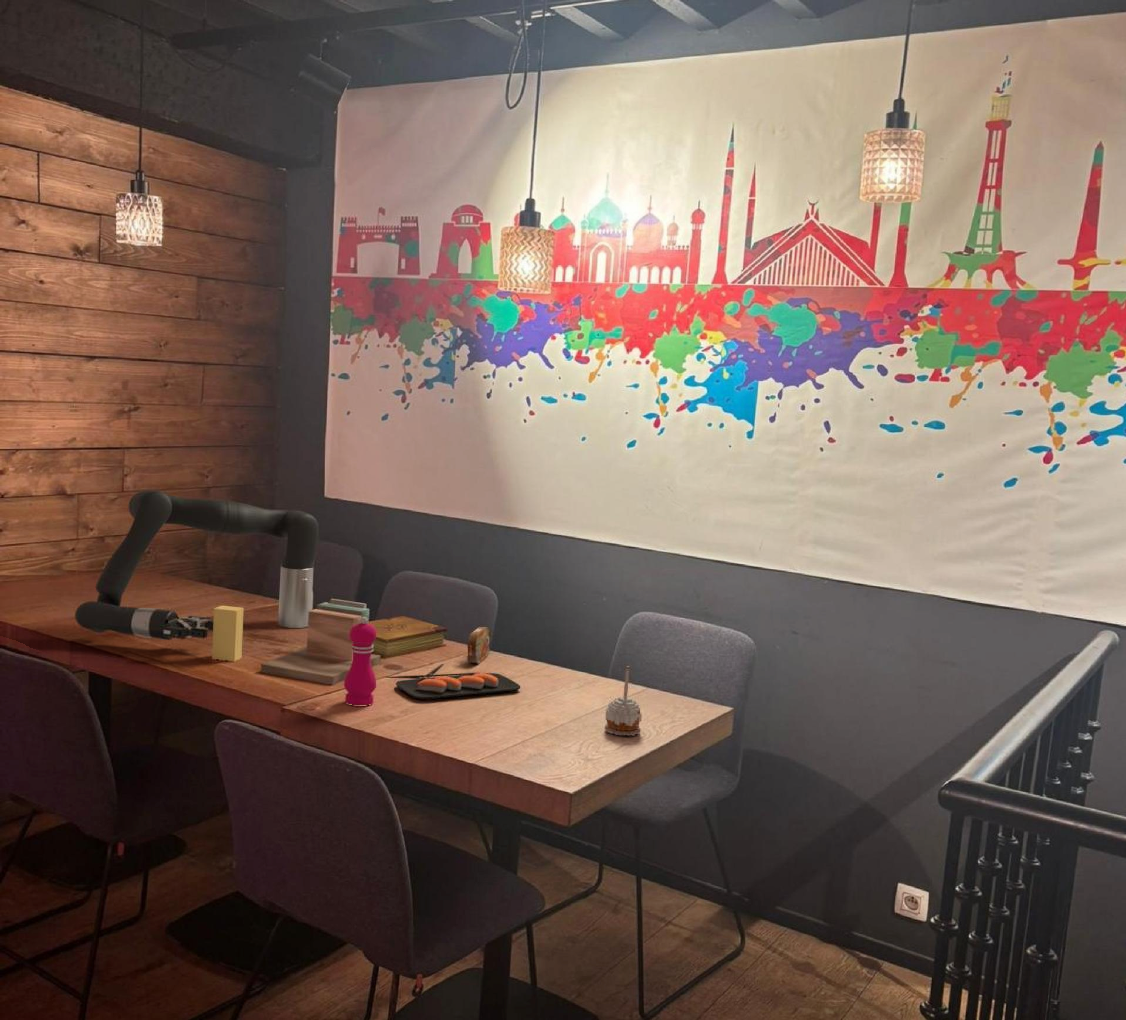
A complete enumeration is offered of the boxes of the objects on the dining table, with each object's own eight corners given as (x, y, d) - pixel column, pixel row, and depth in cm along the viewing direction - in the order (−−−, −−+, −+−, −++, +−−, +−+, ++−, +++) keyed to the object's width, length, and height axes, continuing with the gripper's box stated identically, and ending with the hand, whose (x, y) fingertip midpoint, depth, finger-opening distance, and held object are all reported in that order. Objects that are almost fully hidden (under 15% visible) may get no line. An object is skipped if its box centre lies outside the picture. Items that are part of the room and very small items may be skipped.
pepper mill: (347, 696, 251) (351, 612, 248) (378, 699, 250) (383, 614, 248) (339, 705, 243) (344, 618, 241) (371, 708, 243) (376, 621, 241)
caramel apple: (646, 735, 240) (652, 669, 238) (619, 739, 235) (625, 672, 233) (625, 724, 246) (630, 660, 244) (597, 729, 241) (603, 663, 240)
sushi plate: (415, 705, 250) (416, 689, 249) (366, 671, 275) (367, 657, 274) (524, 695, 265) (526, 680, 265) (469, 663, 290) (469, 649, 290)
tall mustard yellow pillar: (219, 655, 277) (221, 605, 276) (241, 657, 277) (243, 607, 275) (212, 658, 273) (214, 608, 272) (234, 661, 273) (236, 610, 271)
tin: (475, 667, 285) (477, 635, 284) (464, 665, 286) (466, 634, 285) (490, 654, 300) (493, 624, 299) (479, 652, 300) (482, 623, 299)
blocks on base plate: (312, 651, 288) (315, 596, 286) (380, 662, 282) (383, 606, 280) (260, 672, 265) (263, 612, 263) (332, 684, 259) (336, 623, 257)
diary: (399, 634, 316) (401, 615, 316) (445, 648, 305) (447, 628, 304) (338, 645, 298) (340, 624, 298) (385, 659, 287) (386, 638, 286)
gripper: (140, 614, 270) (201, 621, 267) (169, 603, 284) (227, 610, 281) (139, 644, 270) (200, 651, 268) (168, 631, 284) (226, 638, 282)
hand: (214, 630), depth 275 cm, fingers open, 8 cm apart
